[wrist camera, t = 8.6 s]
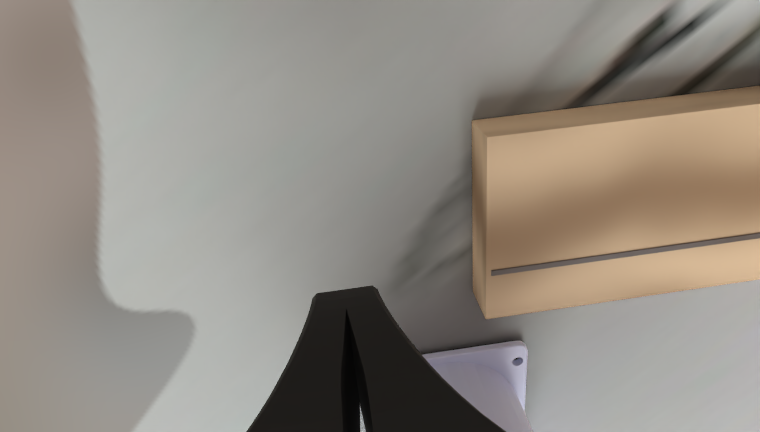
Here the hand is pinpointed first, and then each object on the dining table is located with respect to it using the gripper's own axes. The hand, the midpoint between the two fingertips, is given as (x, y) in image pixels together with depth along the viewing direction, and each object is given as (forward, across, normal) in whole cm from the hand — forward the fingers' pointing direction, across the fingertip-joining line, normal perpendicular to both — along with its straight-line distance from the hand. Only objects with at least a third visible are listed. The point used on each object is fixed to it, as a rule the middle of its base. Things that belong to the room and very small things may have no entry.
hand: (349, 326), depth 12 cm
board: (+10, -16, +3) cm, 19 cm away
